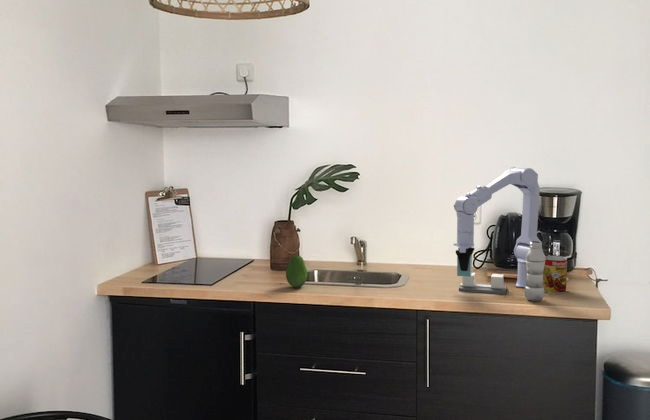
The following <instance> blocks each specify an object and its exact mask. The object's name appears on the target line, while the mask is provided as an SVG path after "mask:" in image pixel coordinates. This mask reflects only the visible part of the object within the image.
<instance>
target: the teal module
mask: <svg viewBox="0 0 650 420" xmlns="http://www.w3.org/2000/svg"><path fill="white" fill-rule="evenodd" d="M472 256H473V254H472V255H471V256H470V259H469V265H468V269H467V271H461V269H460V264H459V259H458V257H457V256H456V257H457V258H456V260H457V261H456V263H457V264H456V267H457V268H456V271H457V273H456V275H457V277H463V276H469V277H470V276H471V274H472V273H473V272H472V271H473V270H472V269H473V268H472V267H473V266H472V264H473V263H472V261H473V260H472V259H473V257H472Z"/></svg>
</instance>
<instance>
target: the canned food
mask: <svg viewBox="0 0 650 420" xmlns="http://www.w3.org/2000/svg"><path fill="white" fill-rule="evenodd" d="M545 258H546V260H545V265H544V273H543V285H544V292H545V293H549V294H565V293H566V292H567V275H568V273H567V272H568V269H567V268H568V257H565V256H560V255H545Z"/></svg>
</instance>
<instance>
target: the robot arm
mask: <svg viewBox="0 0 650 420" xmlns="http://www.w3.org/2000/svg"><path fill="white" fill-rule="evenodd" d="M538 179H539V174H538V173H537V172H536V171H535V170H534V169H533V168H530V167H526V168H523V167H515V166H513V167H510V168H508V169H506V170H504V172H503V173H502V174H501V175H500V176H498V177H497V178H496V179H494V180H493V181H492V182H490V183H489V184H487V185H477V186H476V187H475V189H474V190H472V191H471V192H466V195H465V196H459V197H458V198H457V199H456V200H455V202H454V204H453V208H454V210H455V212H456V218H457V219H456V225H457V226H456V242H454V243H453V246H456V247H458V248H457V249H456V250H455V255H456V257H458V259H459V264H460V269H461V271H467V269H468V265H469V259H470V256H471V255H472V256H473V253H474V251H475V243H474V239H475V230H474V229H475V214H476V212H477V211H478V209H479V207H481V206H482V205H483V204H486V203H487V202H488V201H490V200H491V199H492V196H493V194H495V193H497V192H498V191H500V190H502V189H503V188H506V187H508V186H509V185H512V186H514V187H516V188H517V189H518V190H520V192H521V193H522V194H523V196H522V197H523V198H522V215H521V228H520V229H521V232H520V236H519V237H518V238H517V239H516V242H515V246H514V248H513V254H514V256H515V258H516V261H517V280H516V284H515V288H525V286H526V280H527V266H526V255H527V253H528V252H529V250H530V249H531V247H530V242H531V241H540V242H542V241H541V240H540V239H539V237H538V219H539V205H540V204H539V203H540V186H539V182H538V181H539V180H538ZM541 250H542V251H543V252H544V250H543V247H542V248H541Z"/></svg>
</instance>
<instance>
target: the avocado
mask: <svg viewBox="0 0 650 420" xmlns="http://www.w3.org/2000/svg"><path fill="white" fill-rule="evenodd" d="M307 277H308V270H307V266H306V264H305V261H304V259H303V257H302V256H301V255H294V256H293V257H292V258H291V259H290V261H288V265H287V268H286V270H285V279H286V280H287V282H288V284H289V285H290V286H291V287H293V288H296V289H297V288H301V287H303V286H304V285H305V283H306V282H307Z"/></svg>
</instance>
